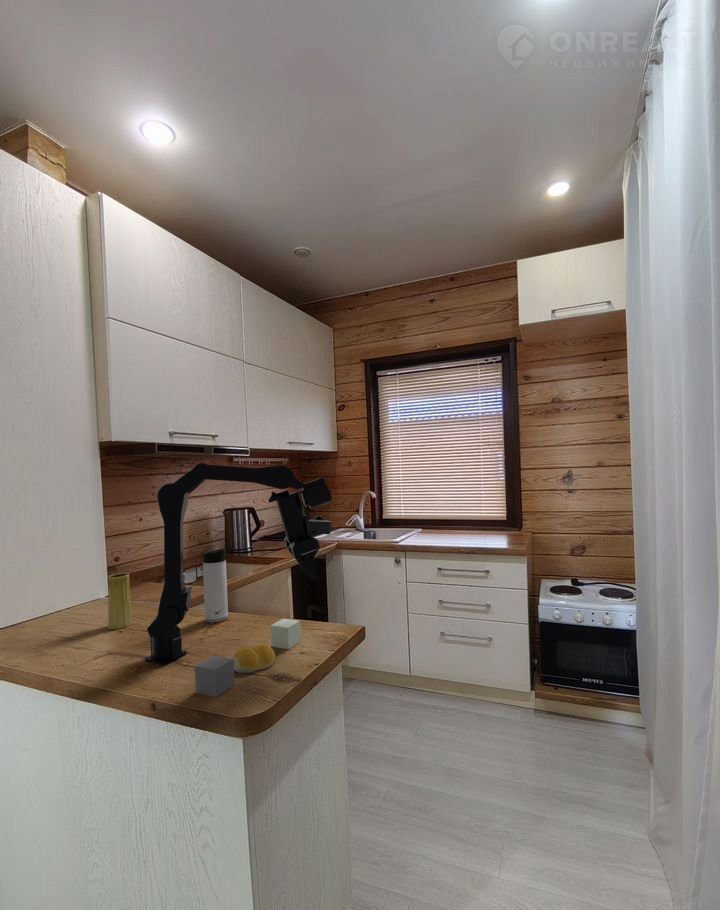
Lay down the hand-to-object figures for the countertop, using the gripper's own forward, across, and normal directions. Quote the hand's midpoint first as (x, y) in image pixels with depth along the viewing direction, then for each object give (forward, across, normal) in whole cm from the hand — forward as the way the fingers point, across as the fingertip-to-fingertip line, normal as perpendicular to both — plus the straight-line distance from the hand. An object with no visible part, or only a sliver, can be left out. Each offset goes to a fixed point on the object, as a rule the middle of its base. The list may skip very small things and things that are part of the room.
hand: (310, 575), depth 109 cm
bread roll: (+12, -10, +18) cm, 24 cm away
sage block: (+14, -1, +10) cm, 17 cm away
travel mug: (+9, +25, +26) cm, 38 cm away
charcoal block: (+10, -18, +25) cm, 33 cm away
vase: (+3, +32, +52) cm, 61 cm away
